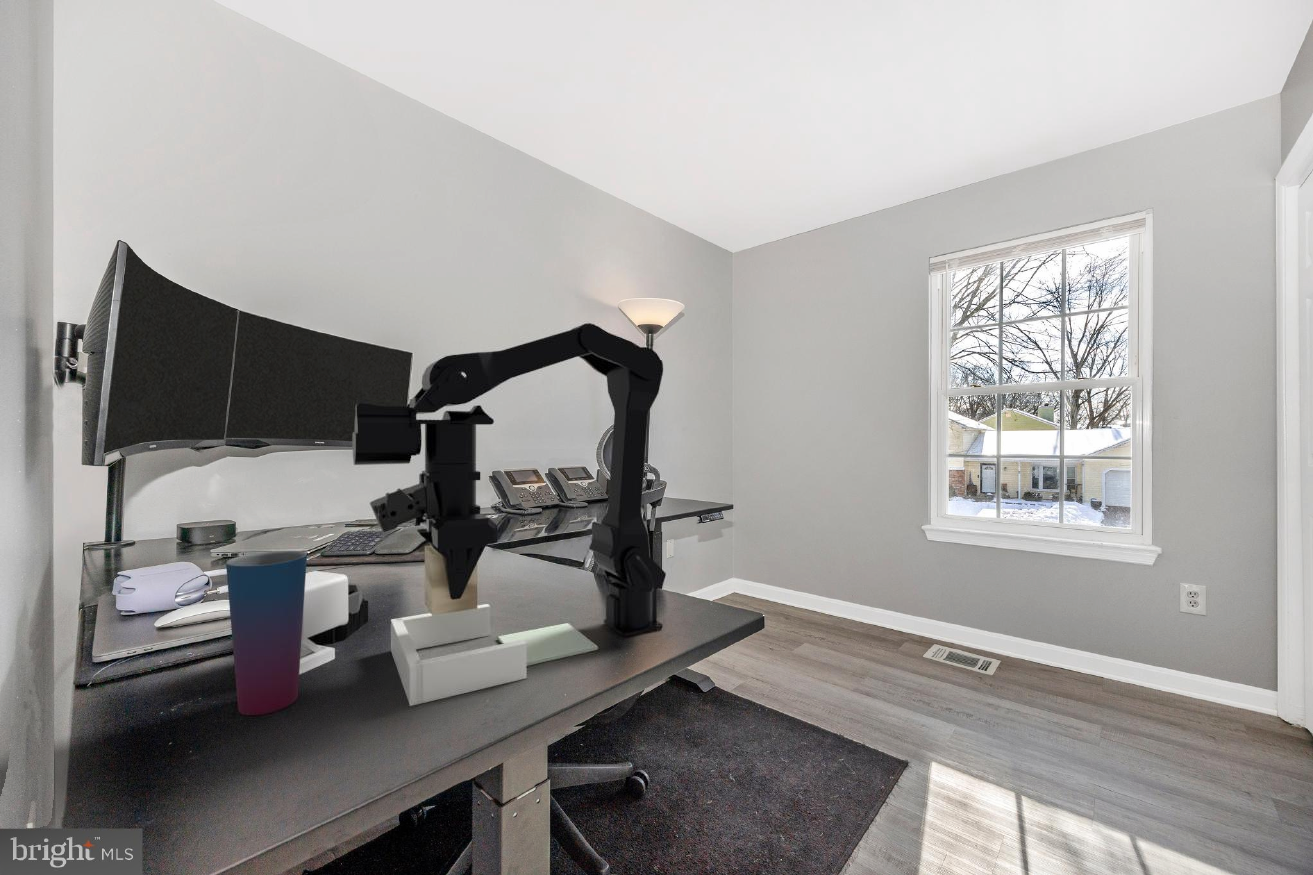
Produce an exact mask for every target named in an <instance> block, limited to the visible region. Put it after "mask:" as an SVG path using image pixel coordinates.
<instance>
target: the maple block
mask: <svg viewBox="0 0 1313 875" xmlns="http://www.w3.org/2000/svg"><path fill="white" fill-rule="evenodd" d="M424 605H425V606H426V608H427V609H428V611H429V613H431V614H432V616H433V615H439V614H446V613H452V612H458V611H464V610H470V609H476V608H477V606H478V563H477V564H476V566H475V568H474V571H473V573H472V575H471V577H470V579H469V581H468V584H467V586H466V588H465V590H464V592H463V595H462V597H461V598H460V599H454V600H452V599H451V598H450V593H449V588H448V583H447V577H446V571H445V566H444V560H443V556H442V555H441V554H440V553H439V552H437V551H436V550H435V549H434V548H433V547H432V546H431V545H425V546H424Z"/></svg>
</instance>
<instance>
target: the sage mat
mask: <svg viewBox="0 0 1313 875" xmlns="http://www.w3.org/2000/svg"><path fill="white" fill-rule="evenodd" d="M497 640H498V641H499V642H500V643H501V644H505V643H510V642H515V641H520V640H524V641H525V642H526V643H527V644H526V667H527V666H531V665H536V664H540V663H544V662H548V661H549V662H550V661H554V660H558V659H562V658H563V659H564V658H566V657H572V656H575V655H581V654H585V653H589V652H593V651H597V650H599V647H598V645H596V643H594V642H592V641H591V639H588V637H586V636H585V635H583V634H582V633H581V632H580V631H578V630H577V629H575V627H574V626H573V625H571V624H570V623H568V622H566V623H562V624H555V625H551V626H546V627H545V626H544V627H540V628H536V629H529V630H524V631H519V632H514V633H509V634H505V635H504V634H503V635H498V637H497Z"/></svg>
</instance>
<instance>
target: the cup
mask: <svg viewBox="0 0 1313 875" xmlns="http://www.w3.org/2000/svg"><path fill="white" fill-rule="evenodd" d="M307 561H308V554H307V552H305V551H300V550H273V551H261V552H256V553H255V552H254V553H250V554H244V555H240V556H236V557H233V558H230V559H228V560H227V561H226V562H225V567H226V568H225V569H226V579H227V580H226V581H227V592H228V604H229V615H230V626H231V638H232V639H231V640H232V641H231V642H232V650H233V652H232V653H233V661H234V662H233V663H234V675H235V687H236V697H237V710H238V713H240V714H242V715H245V716H246V715H247V716H259V715H266V714H269V713H274V712H277V711H279V710H282V709H285V708H286V707H289V706H291V705H292V704H293V703H294V702H296V701H297V699H298V696H299V683H300V682H299V680H300V675H299V669H300V653H301V638H302V623H303V608H304V593H305V578H306V573H307V564H308V563H307Z"/></svg>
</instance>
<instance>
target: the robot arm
mask: <svg viewBox="0 0 1313 875" xmlns="http://www.w3.org/2000/svg"><path fill="white" fill-rule="evenodd" d="M577 357H578V358H580V359H582V360H583V361H584V362H586V364H587V365H589V367H591V368H592V369H593V370H595V372H597V373H599V374H601V375H602V376H604V377H606V383H607V384H606V385H607V392H608V396H609V398H610V402H611V405H612V407H613V410H614V417H613V418H614V419H613V431H612V432H613V433H612V446H611V447H612V448H611V459H610V472H609V474H610V475H609V488H608V490H609V491H608V501H607V510H606V513H605V515H604V516H603V518H602V520H601V522H597V521H593V522H592V523H591V534H592V536H591V542H590V545H589V548H588V549H589V551H592V555H593V560H594V562H595V563H596V565H598V566H599V568H601V569H602V571H603V574H604V576H605V579H606V580H611V581H612V582H610V583H608V594H607V595H606V598H605V609H606V610H605V618H604V619H603V623H604V624H605V625H606V626H608V627H609V628H611V629H612V630H613V631H615V632H616V633H618V634H619V635H621V636H622V637H628V636H633V635H638V634H643V633H647V632H651V631H650V630H652V631H654V630H653V629H656V630H658V629H657V628H661V629H663V628H664V625H663V623H662V622H660V621H658V590H659V589H662V588H663V586H664V583H665V579H666V575H667V574H666V571H664V570H663V569H662V568H661V567H660V566H659V565H658V564H657V562H655V561H654V560H653V559H652V557H651V550H650V538H649V533H648V530H647V527H646V523H645V522H644V519H643V514H642V502H643V493H644V492H643V490H644V475H645V461H646V445H647V436H648V435H647V433H648V422H649V421H648V420H649V419H648V418H649V413H650V410H651V408H652V406H653V404H654V402H655V401H656V399H657V397H658V395H659V392H660V388H661V383H662V380H663V379H662V378H663V375H664V363H663V360H662V358H660V356H659V355H658V353H657V352H656V351H654V350H653V349H652V348H650V347H647V346H640V345H637V344H636V343H634V342H632V341H631V340H628V339H625V338H623V337H621V336H618V335H616V334H613V333H610V332H608V331H606V329H603V328H601V327H600V326H598V325H596V324H595V323H591V322H589V323H582V324H581V325H578V326H575V327H573V328H571V329H569V330H565V331H563V332H560V333H559V332H558V333H556V334H552V335H549V336H545V337H543V338H539V339H536V340H532V341H530V342H525V343H522V344H519V345H515V346H513V347H510V348H505V349H501V350H497V351H495V350H494V351H481V352H478V351H477V352H470V353H460V354H459V353H458V354H451V355H445V356H443V357H442V358H440V359H438V360H436V361H434V362H432V363H430V364H429V365H428V366H427V367H426V368H425V370H424V372H423V374H422V376H421V377H422V379H421V385H422V386H421V388H420V389H419V391H418V392H417V393H416V394H415V395H414V396H413V397H412V398H411V399H409V403H408V404H406V405H379V404H377V405H376V404H373V403H366V402H365V403H361V402H360V403H359V402H358V403H357V404H355V417H354V432H352V459H353V465H354V466H365V465H366V466H368V465H369V466H370V465H375V466H376V465H402V464H403V465H405V464H407V465H408V464H410V463H411V460H412V459H411V458H412V457H414V456H417V455H420V454H421V450H422V425H424V470H421V473H419V478H418V479H419V480H418V481H419V482H418V483H417V484H414V485H412V486H409V487H405V488H402V489H401V488H397V489H396V490H395V491H393V492H392V491H391V492H386V493H385V495H384V496H382V497H378V498H376V499H374V500H372V501H370V502H369V506H370V507H371V510H372V511H373V514H374V516H375V519H376V521H377V524H378V526H379V529H380V530H381V531H382V532H383V533H386V532H389V531H393V530H395V529H397V528H398V526H400V525H403V524H404V523H408V522H410V521H411V524H412V525H413V526H415V527H420V526H421V523H423V528H419V529H416V532H417V533H418V534H419V535H420V536H421V537H422V538H424V539H425V541H427V542H428V544H429V546H432V547H433V548H434V549H435V550H436V551H437V552H439V553H440V554H441V555H442V556H443V560H444V566H445V571H446V577H447V583H448V588H449V593H450V598H451V599H452V600H454V599H460V598H461V597H462V595H463V592H464V590H465V588H466V586H467V584H468V581H469V579H470V577H471V575H472V573H473V571H474V568H475V566H476V564H477V565H478V562H479V560H480V558H481V556H482V555H483V552H484V550H485V548H486V547H487V546H488V545H492V544H493V545H494V544H497V543H498V525H497V524H496V523H495V522H494V521H493V520H492V519H491V518H490V517H488V516H486V515H484V514H482V513H481V506H480V505H479V504H477V481H481V471H480V470H477V425H479V426H480V425H481V426H482V425H483V426H484V425H487V426H488V425H494V423H495V422H494V421H495V420H494V418H492V417H491V416H490V415H489V414H487V413H486V412H485V411H484V409H483V408H482V407H483V406H482V405H479V404H478V405H477V404H476V405H473V406H472V408H471V409H470V410H465V411H464V410H445V411H444V413H443V415H442V418H441V419H417V415H422V414H431V413H436V412H437V411H439V410H441V409H443V408H444V407H453V406H460V405H465V404H467V403H470V402H471V401H474V400H475V399H477V398H479V397H480V396H483V395H485V394H486V393H489V392H490V391H492V390H493V389H495V388H497V387H498V386H500V385H502V384H503V383H505V382H507V381H509V380H510V379H513V378H516V377H519V376H522V375H526V374H528V373H531V372H535V371H537V370H540V369H544V368H547V367H550V366H552V365H555V364H559V363H562V362H566V361H569V360H571V359H574V358H577ZM662 627H663V628H662ZM646 631H647V632H646Z"/></svg>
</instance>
